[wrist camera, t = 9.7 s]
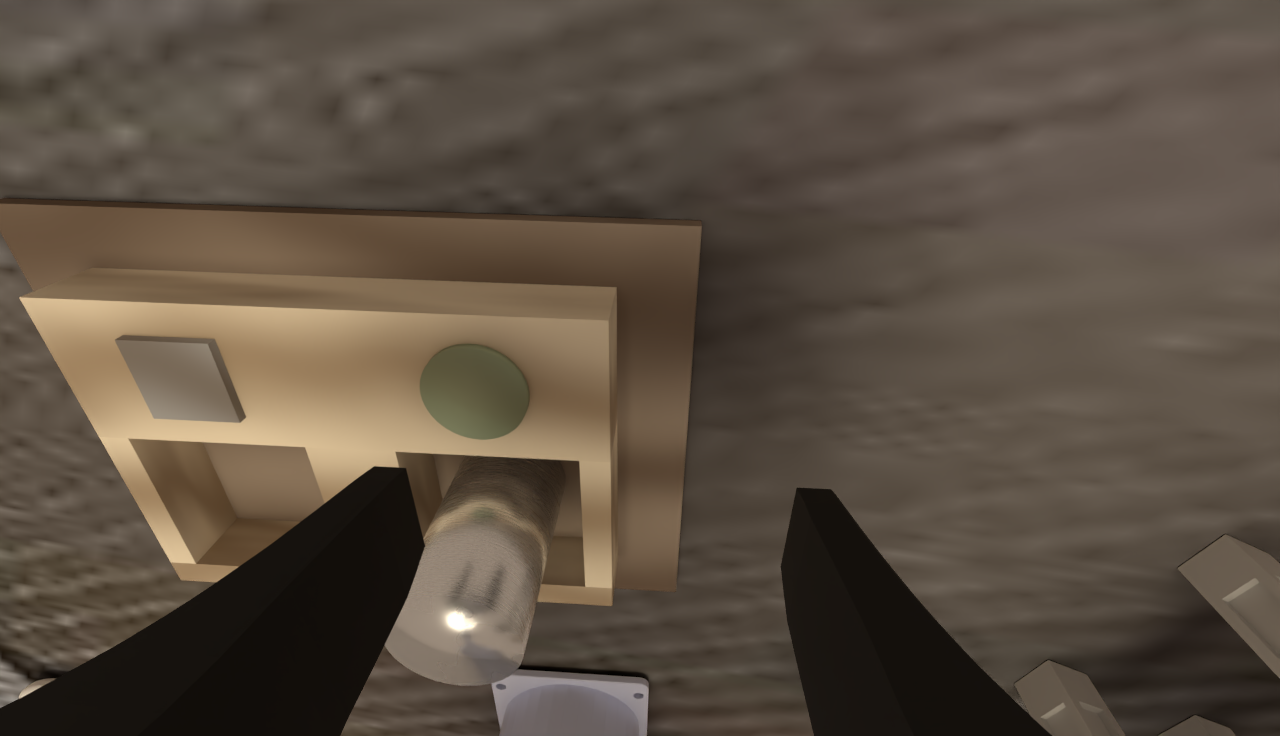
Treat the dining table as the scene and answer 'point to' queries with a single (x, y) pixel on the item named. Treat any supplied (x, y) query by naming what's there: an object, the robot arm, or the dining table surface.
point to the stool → (1237, 589)
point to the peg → (480, 572)
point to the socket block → (373, 365)
